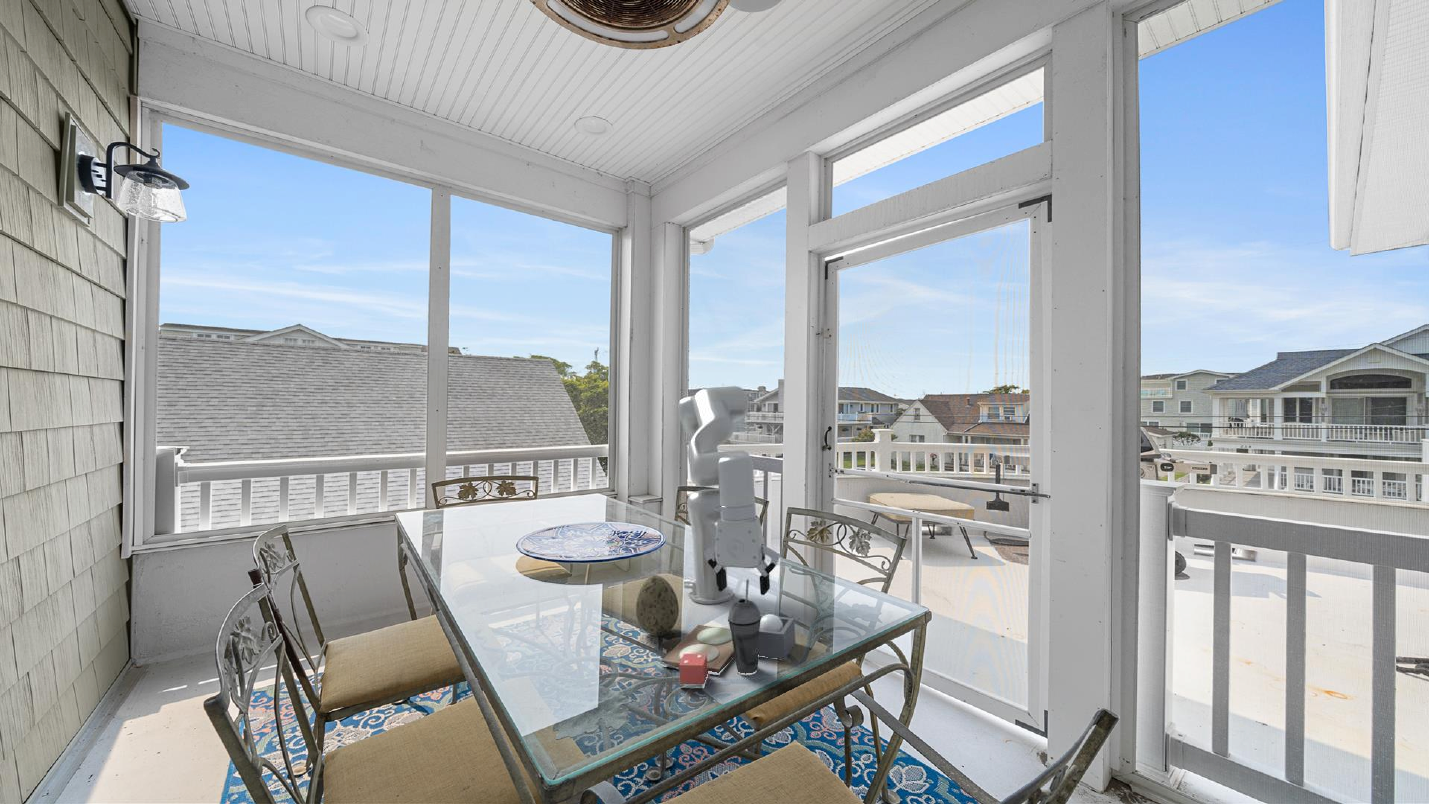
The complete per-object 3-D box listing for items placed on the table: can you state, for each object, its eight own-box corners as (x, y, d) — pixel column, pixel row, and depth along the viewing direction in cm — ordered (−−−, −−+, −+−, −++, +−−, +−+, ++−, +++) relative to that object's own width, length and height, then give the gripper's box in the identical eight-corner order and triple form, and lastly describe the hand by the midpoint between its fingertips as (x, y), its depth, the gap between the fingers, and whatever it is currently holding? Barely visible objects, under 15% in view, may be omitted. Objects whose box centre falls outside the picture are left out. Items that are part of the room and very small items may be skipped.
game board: (662, 667, 130) (661, 659, 130) (698, 630, 148) (698, 623, 148) (719, 676, 125) (718, 667, 125) (750, 637, 143) (749, 630, 143)
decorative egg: (633, 630, 151) (629, 573, 150) (673, 622, 155) (669, 566, 154) (643, 647, 141) (639, 586, 140) (685, 637, 145) (682, 578, 144)
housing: (746, 655, 133) (745, 629, 133) (759, 638, 142) (758, 614, 141) (784, 660, 130) (783, 634, 130) (795, 643, 138) (794, 618, 138)
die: (680, 688, 121) (679, 664, 120) (685, 676, 126) (683, 653, 125) (704, 689, 120) (702, 664, 120) (708, 676, 125) (706, 653, 125)
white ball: (754, 644, 134) (753, 619, 134) (763, 633, 140) (761, 609, 139) (779, 647, 132) (778, 621, 132) (787, 636, 137) (785, 611, 137)
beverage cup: (729, 664, 130) (723, 576, 129) (761, 660, 130) (756, 573, 130) (732, 680, 123) (727, 587, 122) (766, 677, 123) (761, 584, 122)
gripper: (694, 515, 125) (699, 594, 125) (771, 517, 118) (776, 600, 118) (708, 508, 132) (713, 582, 132) (782, 509, 125) (786, 588, 125)
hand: (743, 591), depth 125 cm, fingers open, 9 cm apart
